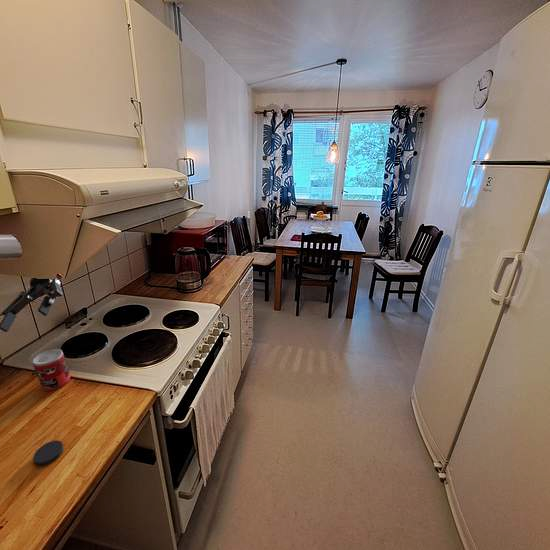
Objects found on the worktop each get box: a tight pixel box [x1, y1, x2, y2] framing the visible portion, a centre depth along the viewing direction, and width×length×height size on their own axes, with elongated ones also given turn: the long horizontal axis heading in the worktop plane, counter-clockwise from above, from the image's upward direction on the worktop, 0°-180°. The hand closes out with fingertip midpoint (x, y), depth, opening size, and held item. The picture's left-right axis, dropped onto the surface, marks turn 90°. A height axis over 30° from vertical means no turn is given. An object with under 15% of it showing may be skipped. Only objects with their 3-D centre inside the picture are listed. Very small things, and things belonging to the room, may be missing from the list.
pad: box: [32, 440, 65, 467], centre depth 73 cm, size 6×6×1 cm
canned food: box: [32, 348, 71, 392], centre depth 94 cm, size 8×8×11 cm
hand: (22, 321), depth 89 cm, fingers open, 13 cm apart
